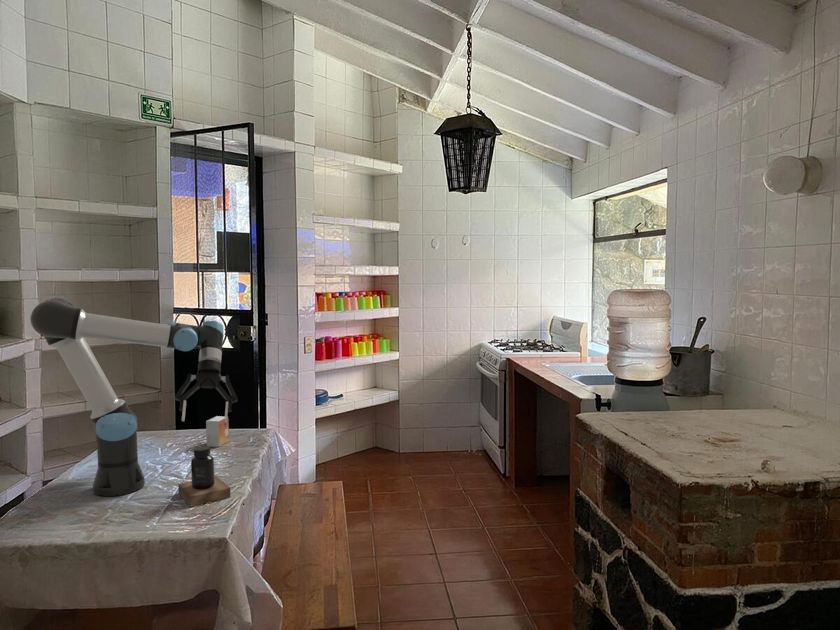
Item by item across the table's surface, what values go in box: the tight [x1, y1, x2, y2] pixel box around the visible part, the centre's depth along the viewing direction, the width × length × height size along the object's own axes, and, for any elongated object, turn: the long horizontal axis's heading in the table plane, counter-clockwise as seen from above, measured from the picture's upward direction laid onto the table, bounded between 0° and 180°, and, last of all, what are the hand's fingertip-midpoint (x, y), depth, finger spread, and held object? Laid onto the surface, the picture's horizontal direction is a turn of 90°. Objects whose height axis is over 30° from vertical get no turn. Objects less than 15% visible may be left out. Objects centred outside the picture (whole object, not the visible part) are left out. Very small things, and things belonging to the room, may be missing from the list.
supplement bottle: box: [190, 446, 215, 489], centre depth 191 cm, size 7×7×12 cm
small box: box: [205, 415, 230, 448], centre depth 245 cm, size 8×6×10 cm
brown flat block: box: [177, 475, 231, 507], centre depth 191 cm, size 12×13×3 cm
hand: (204, 420), depth 204 cm, fingers open, 13 cm apart
